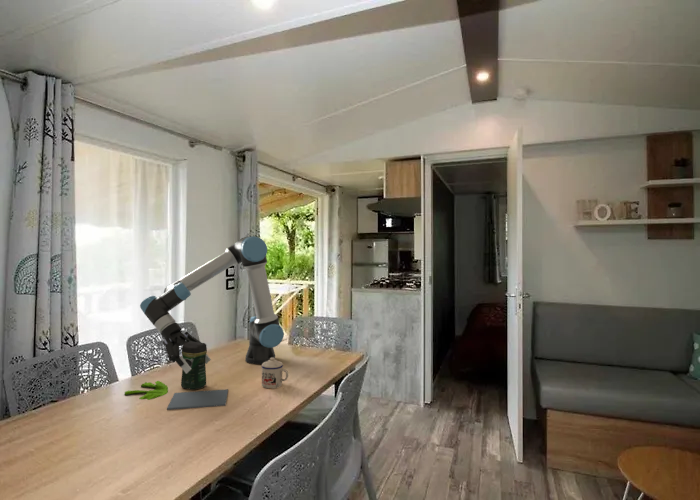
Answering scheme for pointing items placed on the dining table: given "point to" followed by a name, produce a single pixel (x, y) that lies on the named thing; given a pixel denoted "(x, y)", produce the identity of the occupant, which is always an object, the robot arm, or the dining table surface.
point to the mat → (198, 399)
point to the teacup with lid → (272, 373)
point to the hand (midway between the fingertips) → (199, 366)
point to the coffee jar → (194, 365)
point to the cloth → (151, 394)
